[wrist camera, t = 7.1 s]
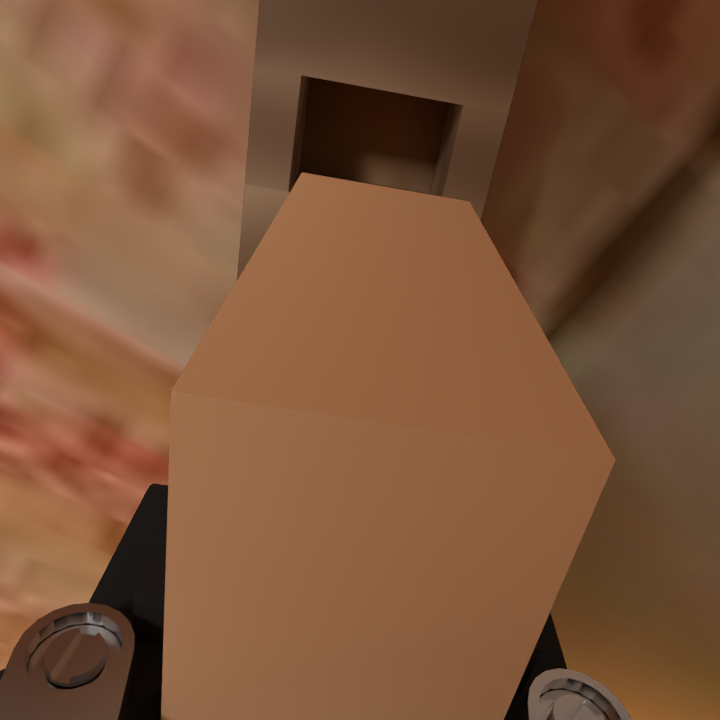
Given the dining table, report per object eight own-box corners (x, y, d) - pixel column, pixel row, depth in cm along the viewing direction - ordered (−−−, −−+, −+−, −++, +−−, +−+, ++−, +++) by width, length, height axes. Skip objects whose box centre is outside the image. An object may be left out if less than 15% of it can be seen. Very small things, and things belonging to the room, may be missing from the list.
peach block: (301, 172, 13) (170, 391, 5) (469, 201, 13) (614, 460, 5) (258, 538, 17) (152, 968, 9) (382, 556, 17) (385, 994, 9)
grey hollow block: (284, -80, 20) (267, -100, 17) (523, -32, 21) (549, -44, 18) (237, 427, 30) (221, 473, 26) (404, 452, 30) (407, 500, 27)
